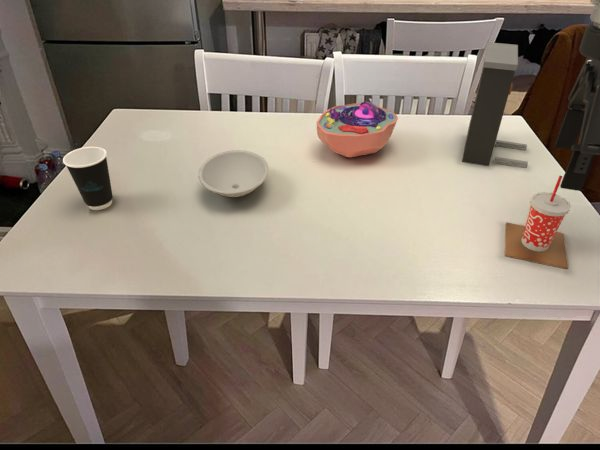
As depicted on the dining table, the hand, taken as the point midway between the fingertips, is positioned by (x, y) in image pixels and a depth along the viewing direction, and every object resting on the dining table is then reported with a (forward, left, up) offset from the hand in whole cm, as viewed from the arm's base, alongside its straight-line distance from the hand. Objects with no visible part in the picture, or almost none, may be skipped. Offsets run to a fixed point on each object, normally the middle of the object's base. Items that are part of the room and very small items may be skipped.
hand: (566, 166), depth 74 cm
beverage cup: (0, 0, -16) cm, 16 cm away
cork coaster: (0, 0, -16) cm, 16 cm away
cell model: (+40, -24, -16) cm, 50 cm away
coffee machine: (+8, -34, -16) cm, 38 cm away
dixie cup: (+83, +16, -16) cm, 86 cm away
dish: (+59, +2, -16) cm, 61 cm away
